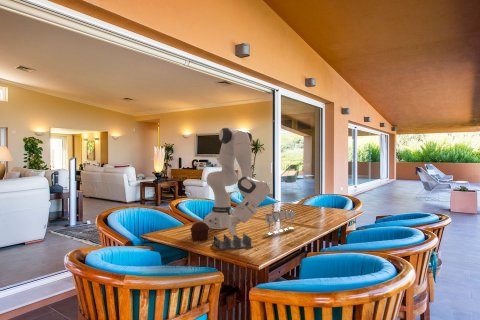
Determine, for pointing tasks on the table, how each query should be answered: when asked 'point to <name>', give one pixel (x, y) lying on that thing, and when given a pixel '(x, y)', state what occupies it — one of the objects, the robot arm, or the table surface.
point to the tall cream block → (231, 228)
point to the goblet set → (279, 214)
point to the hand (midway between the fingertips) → (231, 224)
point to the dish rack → (232, 242)
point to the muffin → (199, 231)
